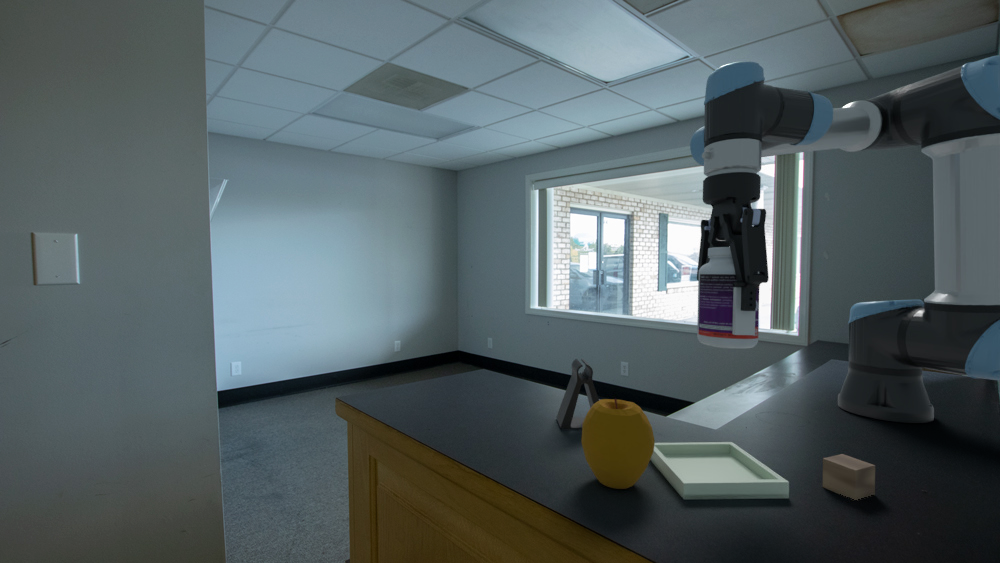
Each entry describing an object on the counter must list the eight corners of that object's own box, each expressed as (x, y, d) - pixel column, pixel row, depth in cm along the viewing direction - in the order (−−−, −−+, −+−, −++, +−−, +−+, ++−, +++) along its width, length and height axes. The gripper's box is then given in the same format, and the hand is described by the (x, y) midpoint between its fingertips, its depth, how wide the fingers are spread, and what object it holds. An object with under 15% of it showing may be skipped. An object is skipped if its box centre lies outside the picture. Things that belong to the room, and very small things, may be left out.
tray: (732, 455, 72) (732, 442, 72) (788, 498, 58) (789, 482, 58) (646, 456, 71) (646, 442, 71) (683, 499, 58) (683, 483, 58)
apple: (650, 471, 66) (651, 391, 66) (658, 504, 57) (659, 411, 56) (582, 464, 68) (583, 387, 68) (579, 495, 59) (579, 406, 58)
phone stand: (560, 429, 83) (560, 365, 83) (556, 419, 89) (556, 358, 89) (609, 429, 83) (609, 364, 83) (601, 419, 89) (602, 358, 89)
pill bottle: (766, 351, 62) (769, 246, 62) (703, 348, 63) (706, 246, 63) (747, 343, 70) (750, 249, 69) (691, 340, 71) (694, 249, 71)
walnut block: (841, 482, 63) (842, 453, 63) (874, 495, 59) (875, 465, 59) (822, 487, 61) (822, 458, 61) (855, 501, 57) (855, 470, 57)
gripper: (676, 188, 77) (673, 322, 77) (745, 156, 56) (740, 340, 56) (720, 189, 77) (717, 323, 77) (805, 157, 56) (800, 341, 56)
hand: (727, 330), depth 67 cm, fingers closed on pill bottle, 8 cm apart
